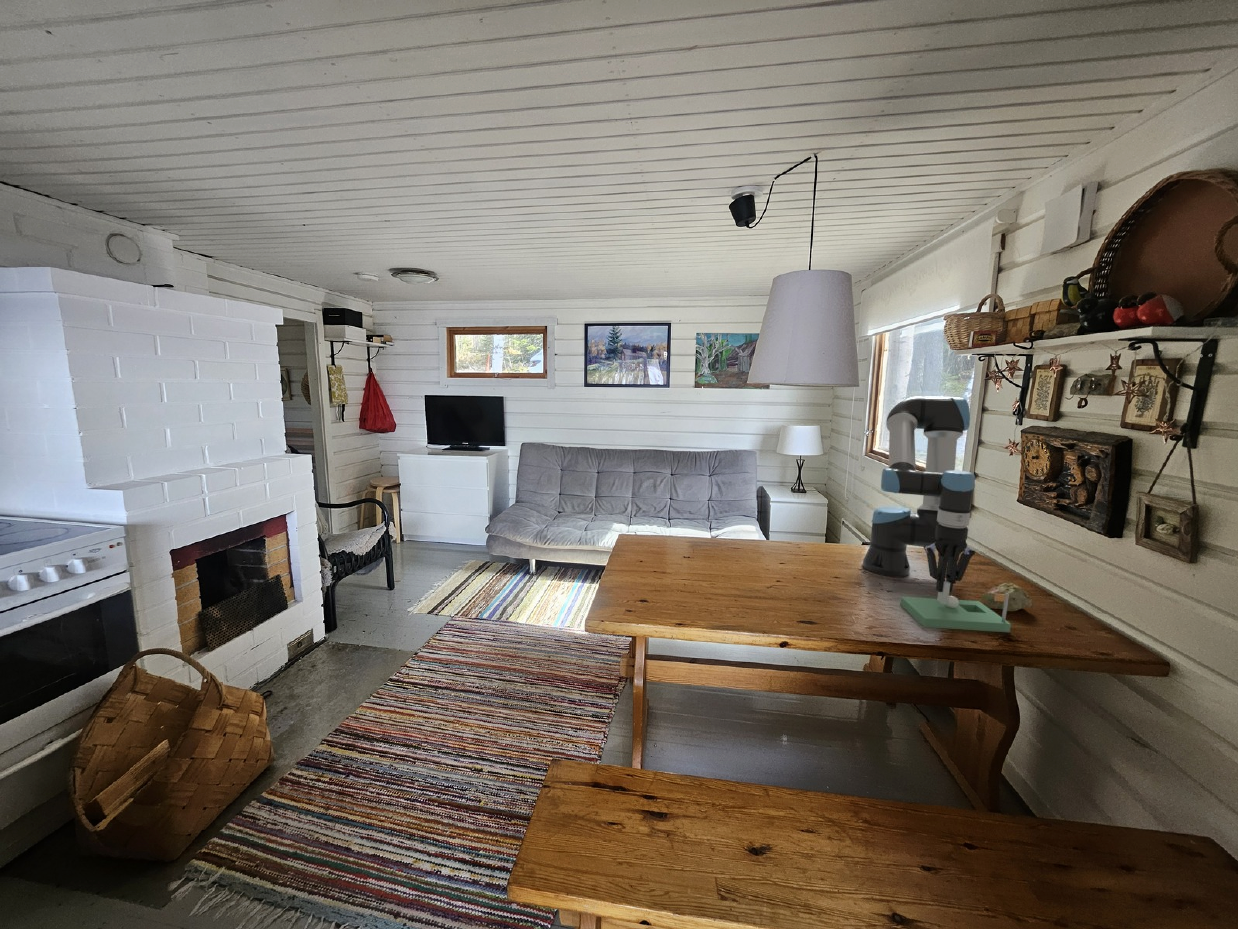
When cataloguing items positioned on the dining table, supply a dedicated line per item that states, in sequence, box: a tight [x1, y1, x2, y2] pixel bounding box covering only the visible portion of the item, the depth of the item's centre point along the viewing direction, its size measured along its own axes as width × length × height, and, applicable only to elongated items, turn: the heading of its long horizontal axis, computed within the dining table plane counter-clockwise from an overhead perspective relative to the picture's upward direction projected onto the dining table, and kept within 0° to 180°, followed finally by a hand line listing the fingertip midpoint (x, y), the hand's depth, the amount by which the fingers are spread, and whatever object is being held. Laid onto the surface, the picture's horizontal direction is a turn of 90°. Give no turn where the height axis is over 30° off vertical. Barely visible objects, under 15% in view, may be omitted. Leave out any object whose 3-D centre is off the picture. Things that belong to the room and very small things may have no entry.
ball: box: [946, 595, 959, 608], centre depth 136 cm, size 4×4×4 cm
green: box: [900, 593, 1012, 633], centre depth 134 cm, size 14×22×10 cm, turn 83°
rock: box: [981, 582, 1034, 612], centre depth 142 cm, size 12×9×10 cm
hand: (942, 602), depth 136 cm, fingers closed
